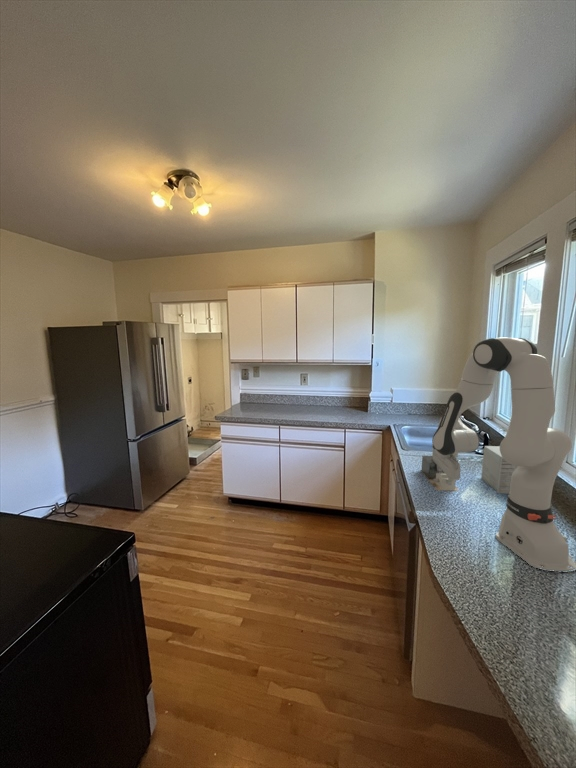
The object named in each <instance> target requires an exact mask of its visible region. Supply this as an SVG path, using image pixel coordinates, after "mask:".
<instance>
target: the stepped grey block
mask: <svg viewBox="0 0 576 768" xmlns="http://www.w3.org/2000/svg"><path fill="white" fill-rule="evenodd" d="M421 457H422V458H421V469H420V472H421V471H422V472H423V473H424V474H425V475H424V474H423V473H422V472H421V473H422V474H423V475H424V477H427V478H428V479H436V473H437V471H438V470H437V464H436V463H435V462H434V461H433V458H432V455H422V456H421ZM442 472H443V471H442ZM443 473H444V472H443ZM444 474H445V473H444ZM427 478H426V479H427ZM428 479H427V480H428Z"/></svg>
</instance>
